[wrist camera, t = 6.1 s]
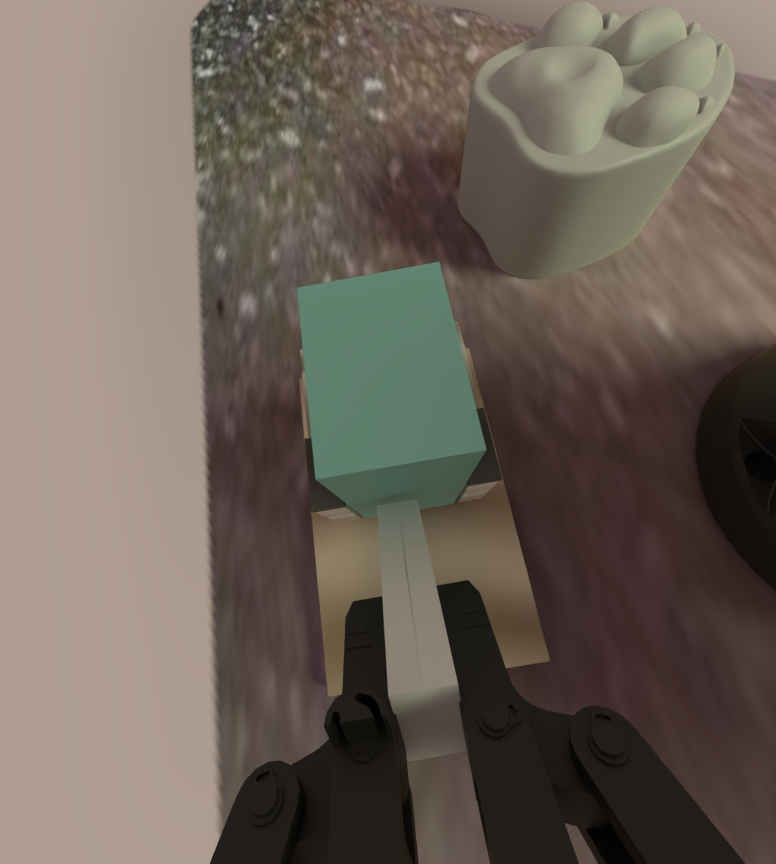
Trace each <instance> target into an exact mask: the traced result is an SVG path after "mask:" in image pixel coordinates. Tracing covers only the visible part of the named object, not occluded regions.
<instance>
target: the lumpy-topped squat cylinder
mask: <svg viewBox="0 0 776 864" xmlns="http://www.w3.org/2000/svg"><path fill="white" fill-rule="evenodd" d="M733 83H734V63H733V57H732V53H731V51H730V49H729V47H728V46H727V44H726V43H725V42H724V41H723V40H722V39H720V38H719V37H717V36H716V35H714V34H713V33H711V32H709V31H707V30H705V29H702V28H700V26H699V24H698V23H697V22H693V23H691V24H688V23H685V22H684V21H683V19H682V17H681V16H680V15H679V14H678V13H677V12H676V11H674V10H673V9H671V8H668V7H664V6H654V7H650V8H648V9H645V10H643V11H641V12H639V13H637V14H636V15H634V16H617V15H616V14H615V13H614V12H610V13H607V14H605V15H603V16H601V13H600V12H599V10H598V9H597V8H596V7H594V6H593V5H592V4H590V3H588V2H585V1H575V2H572V3H569V4H567V5H565V6H563V7H562V8H560V9H559V10H558V11H556V12H555V13H554V14H553V15H552V16H551V17H550V19H549V20H548V21H547V23H546V24H545V26H544V27H543V29H542V30H541V32H540V34H539V35H538V36H535V37H533V38H531V39H528V40H526V41H524V42H523V43H520V44H518V45H516V46H513V47H511V48H509V49H507V50H505V51H503V52H501V53H499V54H497V55H496V56H494V57H492V58H491V59H489V60H488V61H486V62H485V63H484V64H483V65H482V66H481V68H480V69H479V71H478V72H477V74H476V76H475V78H474V81H473V84H472V87H471V92H470V102H469V111H468V119H467V126H466V135H465V143H464V152H463V162H462V171H461V180H460V189H459V198H458V208H459V211H460V213H461V215H462V216H463V218H464V219H465V220H466V221H467V222H468V223H469V224H470V225H471V226H472V227H473V228H474V229H475V230H476V231H477V232H478V234H479V235H480V236H481V238H482V239H483V241H484V243H485V245H486V247H487V249H488V251H489V254H490V256H491V257H492V259H493V261H494V262H495V264H496V265H497V266H498V267H499V268H500V269H501V270H503V271H504V272H506V273H508V274H510V275H512V276H516V277H519V278H525V279H544V278H550V277H554V276H558V275H561V274H564V273H567V272H570V271H572V270H575V269H578V268H581V267H584V266H587V265H589V264H592V263H594V262H596V261H598V260H601V259H603V258H605V257H607V256H609V255H611V254H613V253H615V252H617V251H619V250H620V249H622V248H624V247H625V246H627V245H628V244H630V243H631V242H632V241H633V240H634V239H635V238H636V237H637V235H638V234H639V233H640V231H641V230H642V228H643V227H644V225H645V224H646V222H647V221H648V219H649V218H650V216H651V215H652V213H653V212H654V210H655V209H656V207H657V206H658V205H659V203H660V202H661V200H662V199H663V197H664V196H665V194H666V193H667V191H668V190H669V188H670V187H671V185H672V184H673V182H674V181H675V179H676V178H677V176H678V175H679V173H680V172H681V170H682V169H683V168H684V166H685V165H686V163H687V162H688V160H689V159H690V157H691V156H692V154H693V153H694V151H695V150H696V148H697V147H698V145H699V144H700V142H701V141H702V139H703V138H704V137H705V135H706V134H707V132H708V131H709V129H710V128H711V126H712V125H713V123H714V122H715V120H716V119H717V117H718V115H719V114H720V112H721V110H722V109H723V107H724V105H725V103H726V102H727V100H728V98H729V96H730V93H731V91H732V87H733Z"/></svg>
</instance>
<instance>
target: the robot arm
mask: <svg viewBox="0 0 776 864" xmlns="http://www.w3.org/2000/svg"><path fill="white" fill-rule="evenodd" d="M697 457H698V465H699V472H700V476H701V480H702V484H703V487H704V490H705V493H706V496H707V498H708V501H709V503H710V506H711V508H712V510H713V512H714V514H715V516H716V518H717V520H718V522H719V523H720V525H721V527H722V528H723V530H724V532H725V533H726V535H727V536H728V538H729V539H730V541H731V542H732V543H733V545H734V546H735V547H736V549H737V550H738V551H739V552H740V554H741V555H742V556H743V557H744V558H745V560H746V561H747V562H748V563H749V564H750V565H751V566H752V567H753V568H754V569H755V570H756V571H757V572H758V573H759V574H760V575H761V576H762V577H763V578H764V579H765V580H766V581H767V582H768V583H770V584H771V585H772V586H773V587H774V588H775V589H776V344H774V345H773V346H771V347H769V348H767V349H766V350H764V351H762V352H761V353H759V354H757V355H756V356H754V357H752V358H751V359H749V360H747V361H746V362H744V363H743V364H741V365H739V366H738V367H737V368H735V369H734V370H733V371H731V372H730V373H729V374H728V375H727V376H726V377H725V378H724V379H723V380H722V381H721V382H720V383H719V384H718V386H717V387H716V388H715V390H714V391H713V393H712V394H711V396H710V397H709V399H708V401H707V403H706V405H705V408H704V410H703V413H702V416H701V420H700V424H699V429H698V438H697ZM377 516H378V533H379V549H380V566H381V583H382V596H380V597H374V598H369V599H363V600H357V601H353V602H352V604H351V606H350V609H349V611H348V613H347V615H346V617H345V639H344V662H343V685H342V694H341V695H340V696H339V697H337V698H336V699H335V700H334V702H333V703H332V705H331V707H330V708H329V710H328V711H327V715H326V719H325V723H324V727H325V730H326V732H327V734H328V736H329V739H328V740H327V742H326V743H325V744H324V745H323V746H321V747H320V748H319V749H317V750H316V751H315V752H313V753H311V754H309V755H308V756H306V757H304V758H303V759H301V760H299V761H297V762H296V763H294V764H292V765H291V766H290V765H289V764H287V763H284V762H282V761H272V762H267V763H266V764H264V765H262V766H260V767H259V768H257V769H256V770H255V771H254V772H253V773H252V774H251V775H250V776H249V777H248V778H247V779H246V780H245V782H244V784H243V785H242V787H241V789H240V791H239V793H238V795H237V797H236V799H235V802H234V804H233V807H232V809H231V812H230V814H229V817H228V819H227V822H226V824H225V827H224V829H223V832H222V834H221V837H220V839H219V842H218V844H217V847H216V849H215V852H214V854H213V857H212V859H211V862H210V864H418V853H417V843H416V832H415V821H414V811H413V800H412V793H411V789H410V785H409V781H408V770H407V761H408V762H411V761H417V760H423V759H428V758H434V757H441V756H447V755H453V754H459V753H464V752H468V757H469V762H470V766H471V771H472V776H473V783H474V789H475V795H476V800H477V802H478V807H479V812H480V817H481V822H482V826H483V831H484V836H485V841H486V846H487V851H488V855H489V860H490V864H579V863H578V860H577V857H576V855H575V852H574V849H573V846H572V843H571V840H570V837H569V835H568V832H567V829H566V826H565V823H567V824H571V825H574V826H577V827H578V829H579V830H580V832H581V834H582V836H583V837H584V839H585V841H586V843H587V845H588V846H589V848H590V850H591V852H592V853H593V855H594V857H595V859H596V860H597V862H598V864H745V863H744V862H743V860H742V859H741V858H740V857H739V855H738V854H737V853H736V852H735V850H734V849H733V848H732V847H731V846H730V844H729V843H728V842H727V841H726V839H725V838H724V837H723V836H722V834H721V833H720V832H719V831H718V830H717V828H716V827H715V826H714V825H713V823H712V822H711V821H710V820H709V818H708V817H707V816H706V815H705V814H704V812H703V811H702V810H701V809H700V807H699V806H698V805H697V804H696V802H695V801H694V800H693V799H692V798H691V796H690V795H689V794H688V793H687V791H686V790H685V789H684V788H683V786H682V785H681V784H680V783H679V782H678V780H677V779H676V778H675V777H674V775H673V774H672V773H671V772H670V770H669V769H668V768H667V767H666V766H665V764H664V763H663V762H662V761H661V759H660V758H659V757H658V756H657V754H656V753H655V752H654V751H653V750H652V748H651V747H650V746H649V745H648V743H647V742H646V741H645V740H644V738H643V737H642V736H641V735H640V734H639V732H638V731H637V730H636V729H635V728H634V727H633V726H632V725H631V724H630V723H629V722H628V721H627V720H626V719H625V718H624V717H623V716H621V715H620V714H618V713H616V712H614V711H612V710H610V709H609V708H604V707H599V706H590V707H586V708H582V709H581V710H580V711H579V712H577V713H576V714H575V715H574V716H571V715H566V714H561V713H556V712H551V711H547V710H544V709H540V708H537V707H536V706H534V705H532V704H530V703H529V702H527V701H526V700H525V699H524V698H523V697H522V696H520V695H519V693H518V692H517V691H516V689H515V688H514V687H513V685H512V683H511V680H510V678H509V676H508V673H507V670H506V667H505V664H504V661H503V658H502V655H501V652H500V649H499V646H498V644H497V641H496V638H495V635H494V632H493V629H492V626H491V623H490V620H489V617H488V614H487V612H486V609H485V606H484V603H483V600H482V597H481V594H480V592H479V591H478V590H477V589H476V588H475V587H474V586H473V584H472V583H471V582H470V581H469V580H465V581H459V582H454V583H448V584H442V585H437V586H436V582H435V578H434V573H433V569H432V564H431V560H430V555H429V551H428V546H427V542H426V537H425V533H424V528H423V524H422V519H421V514H420V510H419V505H418V501H417V499H413V500H407V501H402V502H396V503H390V504H385V505H379V506H377ZM406 758H407V759H406Z"/></svg>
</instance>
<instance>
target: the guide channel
mask: <svg viewBox="0 0 776 864" xmlns="http://www.w3.org/2000/svg"><path fill="white" fill-rule="evenodd" d="M455 326H456V330H457V334H458V338H459V342H460V346H461V350H462V354H463V358H464V362H465V366H466V370H467V374H468V378H469V382H470V386H471V390H472V394H473V398H474V402H475V406H476V410H477V414H478V418H479V422H480V426H481V430H482V434H483V438H484V442H485V446H486V452H485V453H484V455H483V456H482V458H481V460H480V461H479V463H478V464H477V466H476V468H475V469H474V471H473V473H472V474H471V476H470V477H469V479H468V481H467V482H466V484H465V485H464V487H463V489H462V490H461V492H460V494H459V495H458V497H457V498H456V500H455V502H454V503H453V504H450V505H445V506H439V507H433V508H427V509H421V510H420V514H421V519H422V524H423V528H424V533H425V537H426V542H427V546H428V551H429V555H430V560H431V564H432V569H433V573H434V578H435V582H436V586H437V585H442V584H448V583H454V582H459V581H465V580H469V581H470V582H471V583H472V584H473V586H474V587H475V588H476V589H477V590H478V591H479V592H480V594H481V597H482V600H483V603H484V606H485V609H486V612H487V614H488V617H489V620H490V623H491V626H492V629H493V632H494V635H495V638H496V641H497V644H498V646H499V649H500V652H501V655H502V658H503V661H504V664H505V667H506V668H510V667H517V666H523V665H529V664H535V663H542V662H548V661H550V658H549V654H548V651H547V647H546V643H545V639H544V635H543V631H542V627H541V624H540V620H539V616H538V612H537V608H536V604H535V600H534V597H533V593H532V589H531V585H530V581H529V577H528V573H527V569H526V566H525V562H524V558H523V554H522V550H521V546H520V542H519V539H518V535H517V531H516V527H515V523H514V519H513V515H512V512H511V508H510V504H509V500H508V496H507V492H506V488H505V484H504V481H503V477H502V473H501V469H500V465H499V461H498V457H497V454H496V450H495V446H494V442H493V438H492V434H491V430H490V426H489V423H488V419H487V415H486V411H485V407H484V403H483V399H482V396H481V392H480V388H479V384H478V380H477V376H476V372H475V369H474V365H473V361H472V357H471V353H470V349H469V348H468V349H465V345H464V341H463V338H462V334H461V330H460V326H459V322H458V321H456V322H455ZM300 358H301V368H302V378H300V379H299V384H300V395H301V406H302V417H303V428H304V439H305V450H306V461H307V472H308V483H309V494H310V505H311V516H312V526H313V537H314V548H315V559H316V570H317V581H318V592H319V603H320V614H321V625H322V636H323V647H324V658H325V669H326V679H327V690H328V697H329V696H335V695H341V694H342V685H343V662H344V639H345V617H346V615H347V613H348V611H349V609H350V606H351V604H352V602H353V601H357V600H363V599H369V598H374V597H380V596H382V583H381V566H380V549H379V533H378V517H374V518H368V519H366V518H364V517H363V516H362V515H361V514H359V513H358V512H357V511H355V510H354V509H353V508H352V507H350V506H349V505H348V504H346V503H345V502H344V501H343V500H341V499H340V498H339V497H337V496H336V495H335V494H334V493H332V492H331V491H330V490H329V489H327V488H326V487H325V486H323V485H322V484H321V483H320V482H318V481H317V480H316V479H315V469H314V459H313V448H312V438H311V428H310V418H309V407H308V397H307V387H306V377H305V367H304V356H303V349H300Z"/></svg>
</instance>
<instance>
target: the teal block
mask: <svg viewBox="0 0 776 864" xmlns="http://www.w3.org/2000/svg"><path fill="white" fill-rule="evenodd" d="M297 295H298V305H299V315H300V326H301V336H302V346H303V356H304V367H305V377H306V387H307V397H308V407H309V418H310V428H311V438H312V448H313V459H314V469H315V479H316V480H317V481H318V482H320V483H321V484H322V485H323V486H325V487H326V488H327V489H329V490H330V491H331V492H332V493H334V494H335V495H336V496H337V497H339V498H340V499H341V500H343V501H344V502H345V503H346V504H348V505H349V506H350V507H352V508H353V509H354V510H355V511H357V512H358V513H359V514H361V515H362V516H363V517H364V518H366V519H368V518H374V517H378V516H377V506H379V505H385V504H390V503H396V502H402V501H407V500H413V499H417V501H418V505H419V510H421V509H427V508H433V507H439V506H445V505H450V504H453V503H454V502H455V500H456V498H457V497H458V495H459V494H460V492H461V490H462V489H463V487H464V485H465V484H466V482H467V481H468V479H469V477H470V476H471V474H472V473H473V471H474V469H475V468H476V466H477V464H478V463H479V461H480V460H481V458H482V456H483V455H484V453H485V452H486V446H485V442H484V438H483V434H482V430H481V426H480V422H479V418H478V414H477V410H476V406H475V402H474V398H473V394H472V390H471V386H470V382H469V378H468V374H467V370H466V366H465V362H464V358H463V354H462V350H461V346H460V342H459V338H458V334H457V330H456V326H455V322H454V318H453V314H452V310H451V306H450V302H449V298H448V294H447V290H446V286H445V282H444V278H443V274H442V270H441V266H440V262H435V263H430V264H424V265H419V266H413V267H408V268H402V269H397V270H391V271H386V272H380V273H375V274H369V275H364V276H358V277H353V278H348V279H342V280H337V281H331V282H326V283H320V284H315V285H309V286H304V287H298V288H297Z"/></svg>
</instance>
